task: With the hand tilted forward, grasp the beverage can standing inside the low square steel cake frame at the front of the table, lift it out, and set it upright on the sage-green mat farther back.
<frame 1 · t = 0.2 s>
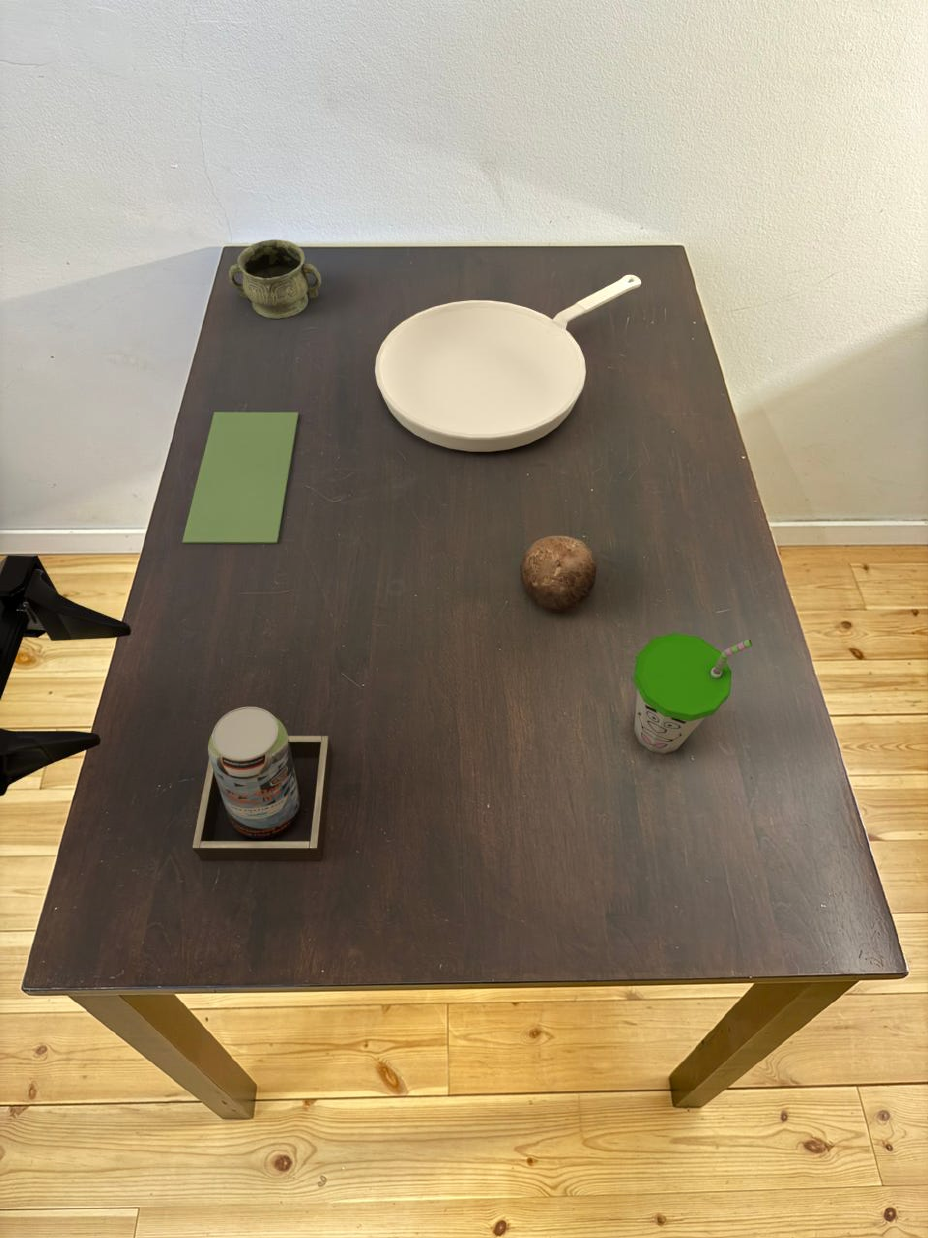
hand: (114, 682, 62), 16 cm above the table, tool horizontal, fingers open, 9 cm apart
cake frame: (269, 803, 73), on the table
green mat: (244, 474, 95), on the table
mushroom: (554, 591, 86), on the table
vessel: (279, 302, 114), on the table
beverage can: (270, 804, 73), resting in cake frame
cup: (658, 732, 77), on the table
pan: (522, 366, 106), on the table
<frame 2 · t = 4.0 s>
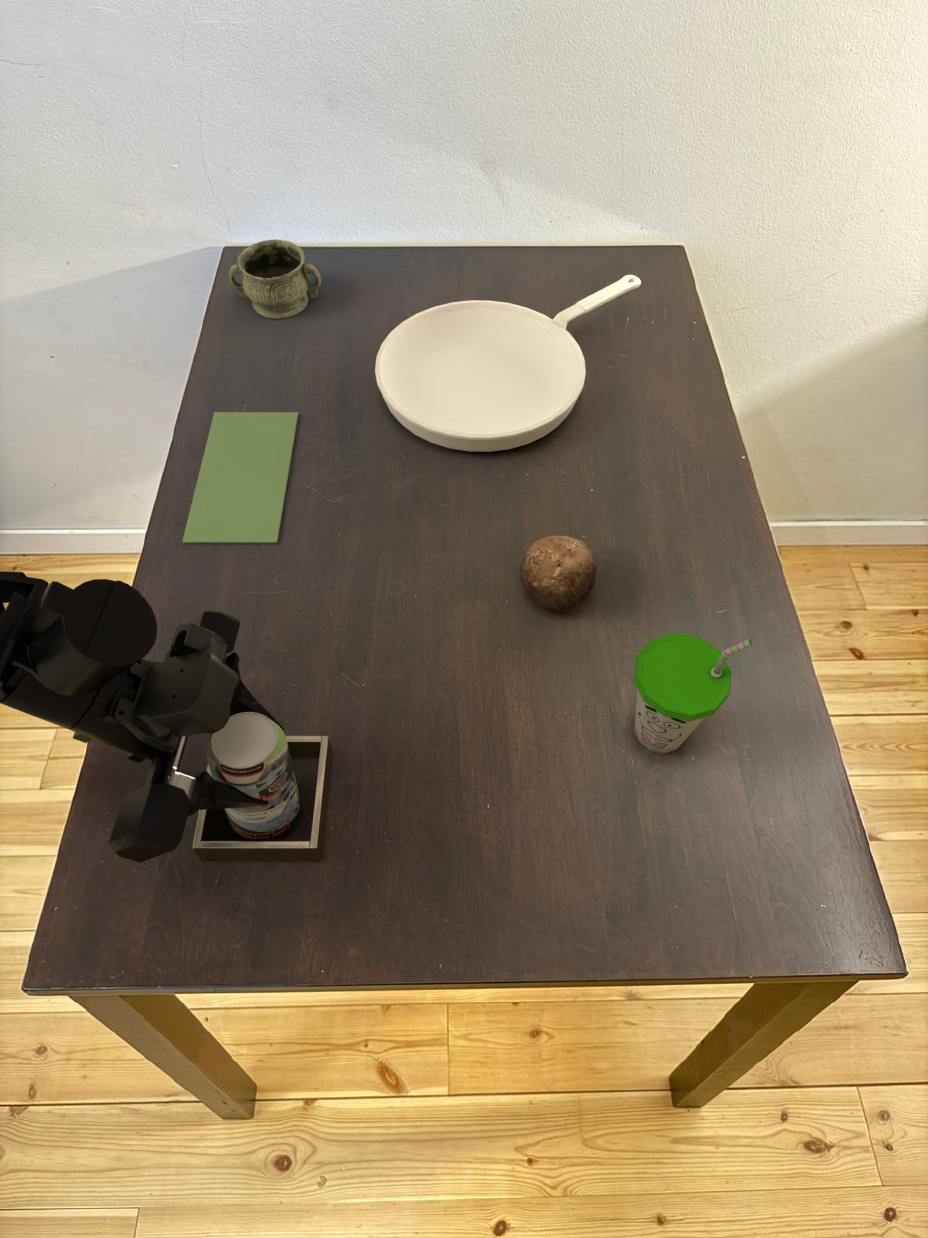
hand: (273, 767, 68), 7 cm above the table, tool tilted 45°, fingers closed on beverage can, 6 cm apart
beverage can: (270, 805, 73), resting in cake frame, touching gripper
everything else where it was.
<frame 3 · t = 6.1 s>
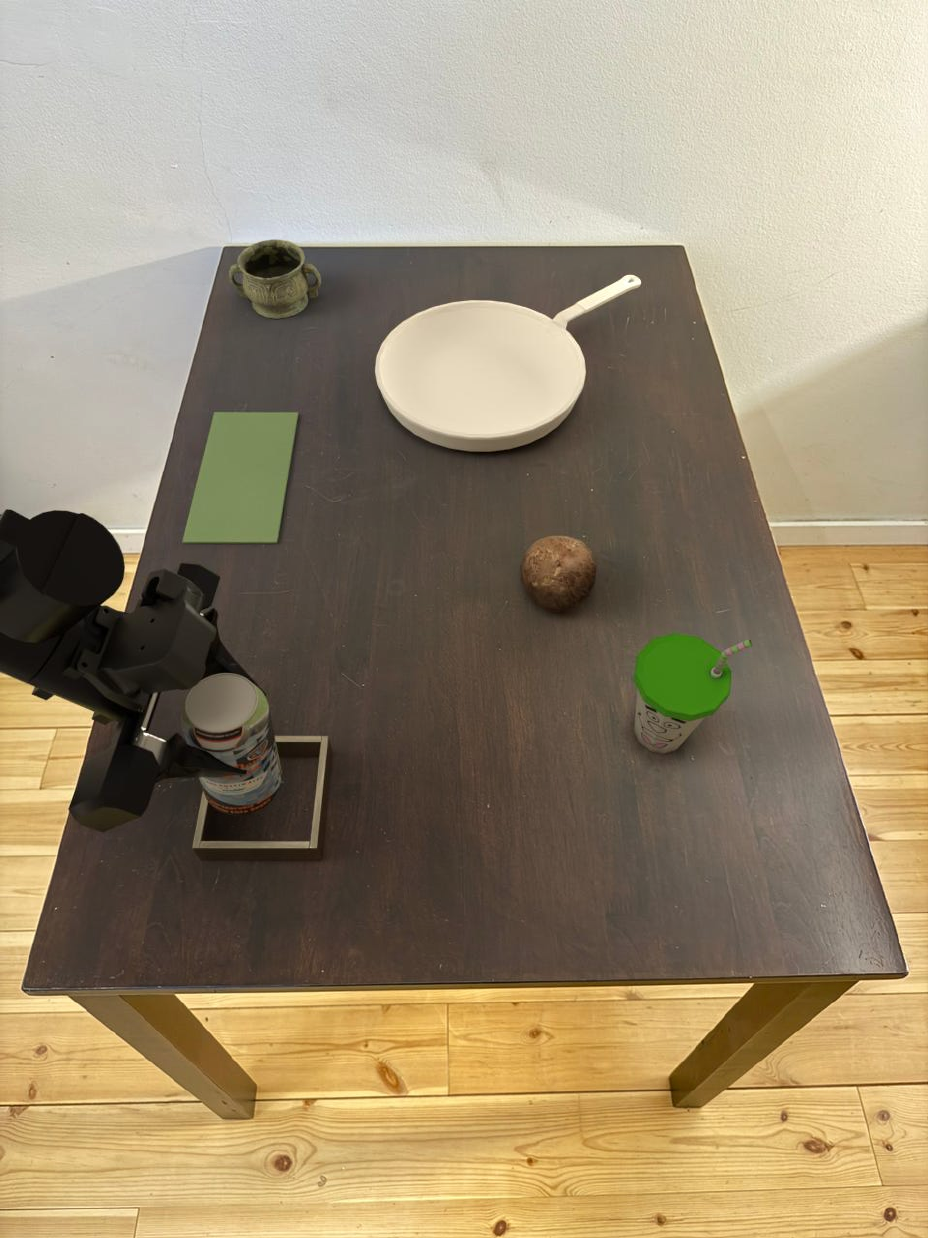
hand: (253, 735, 62), 13 cm above the table, tool tilted 45°, fingers closed on beverage can, 6 cm apart
beverage can: (249, 778, 68), point 6 cm above the table, touching gripper
everything else where it was.
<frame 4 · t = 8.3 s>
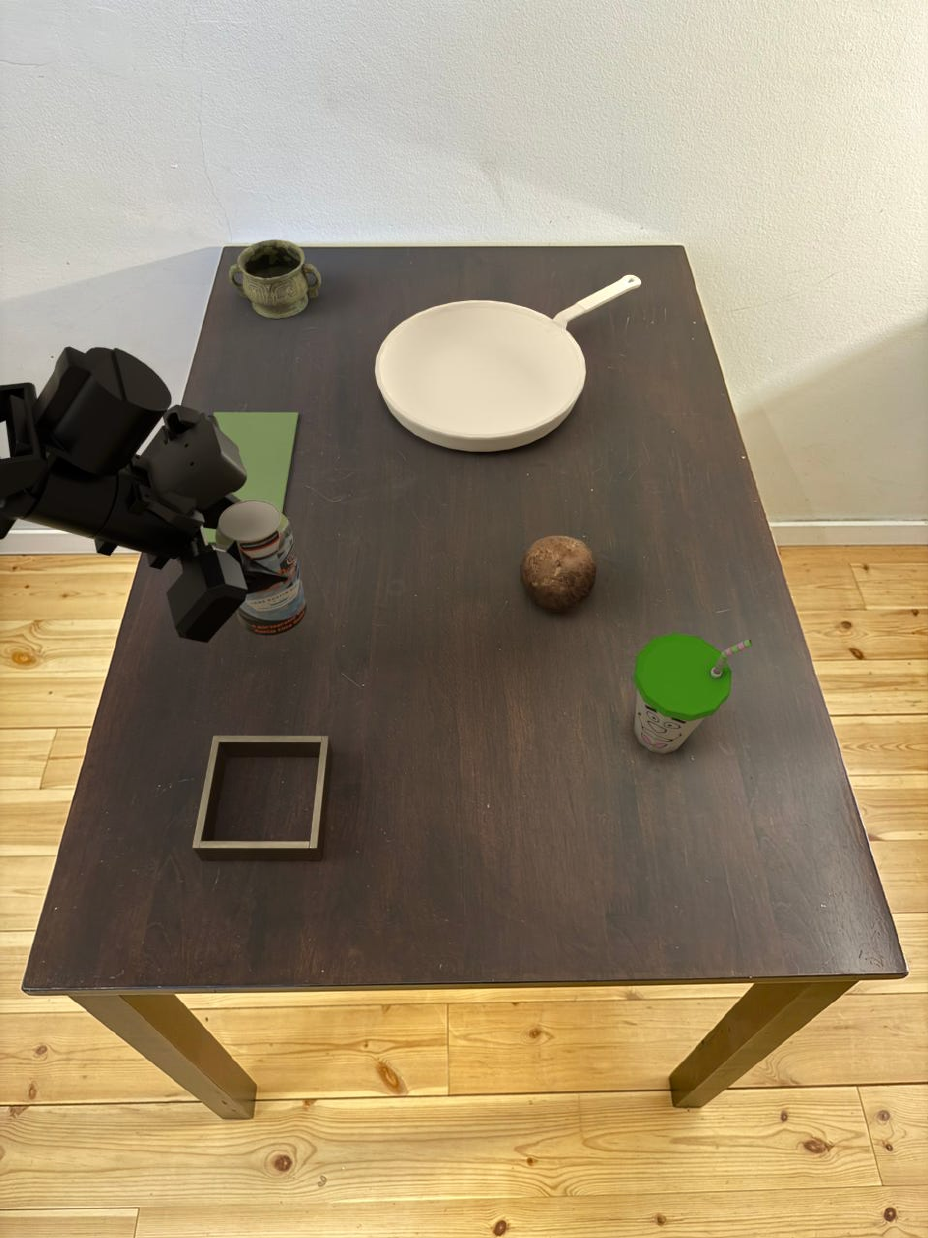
hand: (276, 554, 72), 13 cm above the table, tool tilted 45°, fingers closed on beverage can, 6 cm apart
beverage can: (274, 611, 77), point 6 cm above the table, touching gripper
everything else where it was.
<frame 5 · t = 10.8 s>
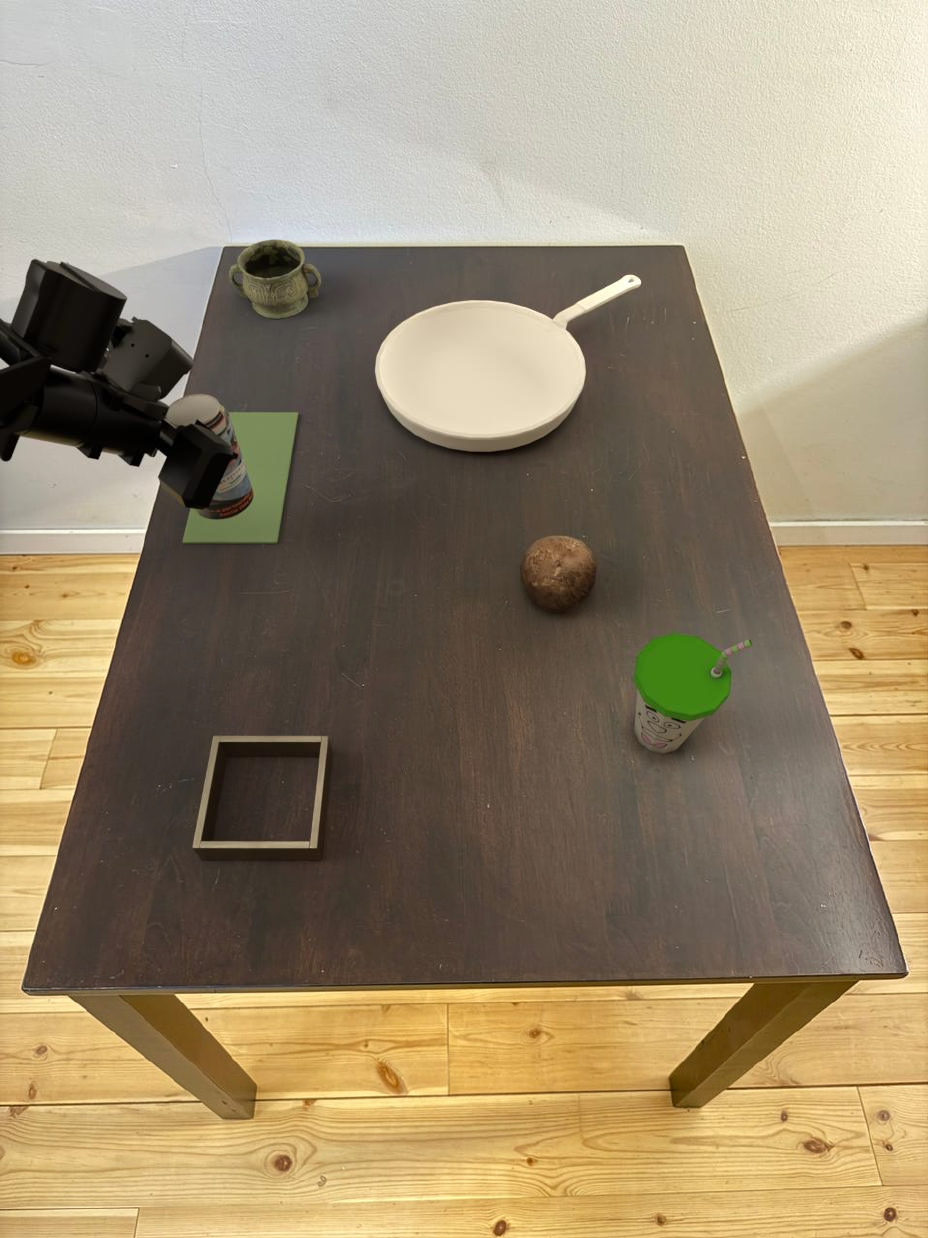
hand: (216, 443, 82), 12 cm above the table, tool tilted 45°, fingers closed on beverage can, 6 cm apart
beverage can: (222, 503, 86), point 5 cm above the table, touching gripper
everything else where it was.
when the fingers open (7 cm above the table, at t = 12.6 s): beverage can stays where it is, resting on green mat.
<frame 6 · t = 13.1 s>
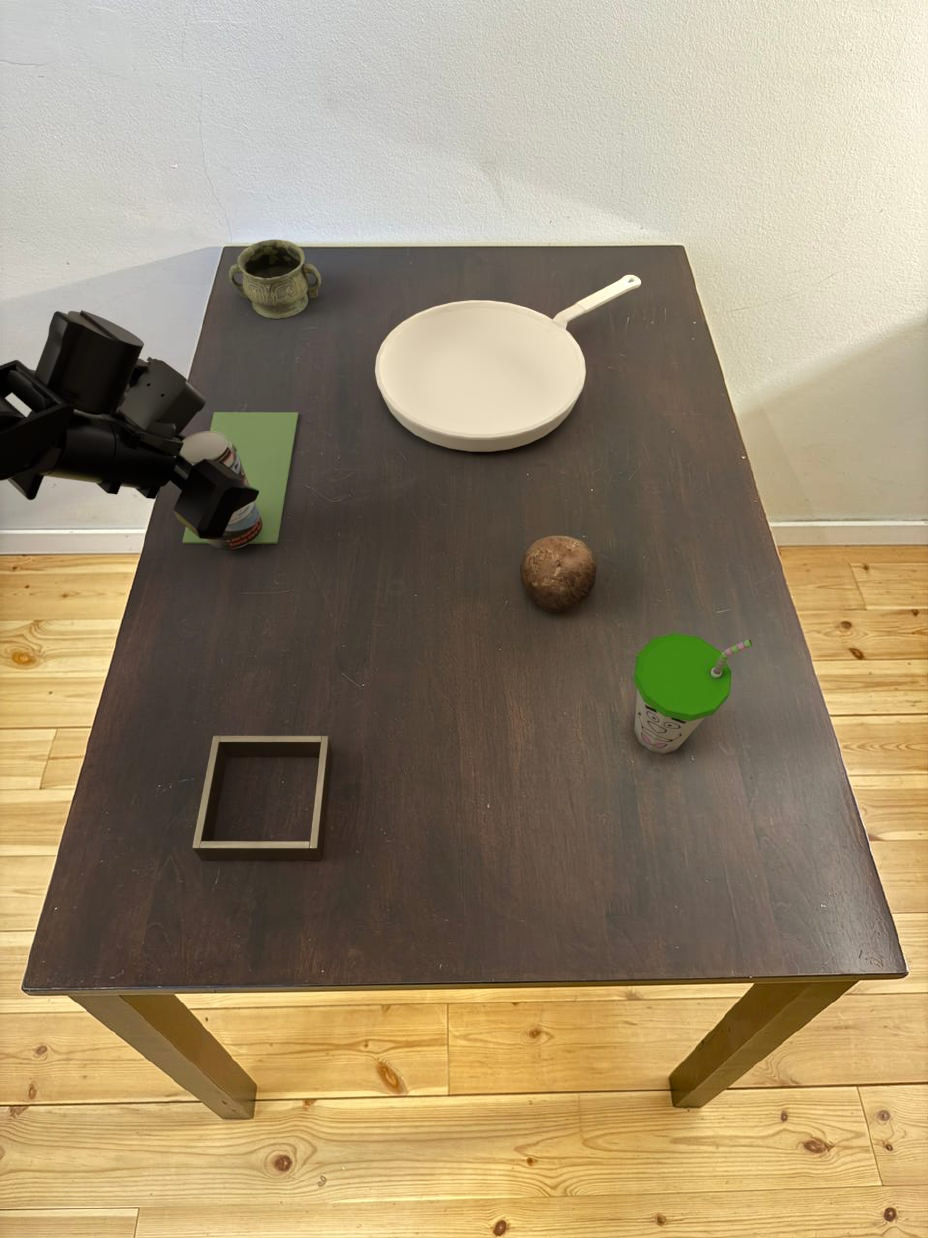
hand: (227, 471, 85), 8 cm above the table, tool tilted 45°, fingers open, 9 cm apart
beverage can: (233, 532, 90), resting on green mat
everything else where it was.
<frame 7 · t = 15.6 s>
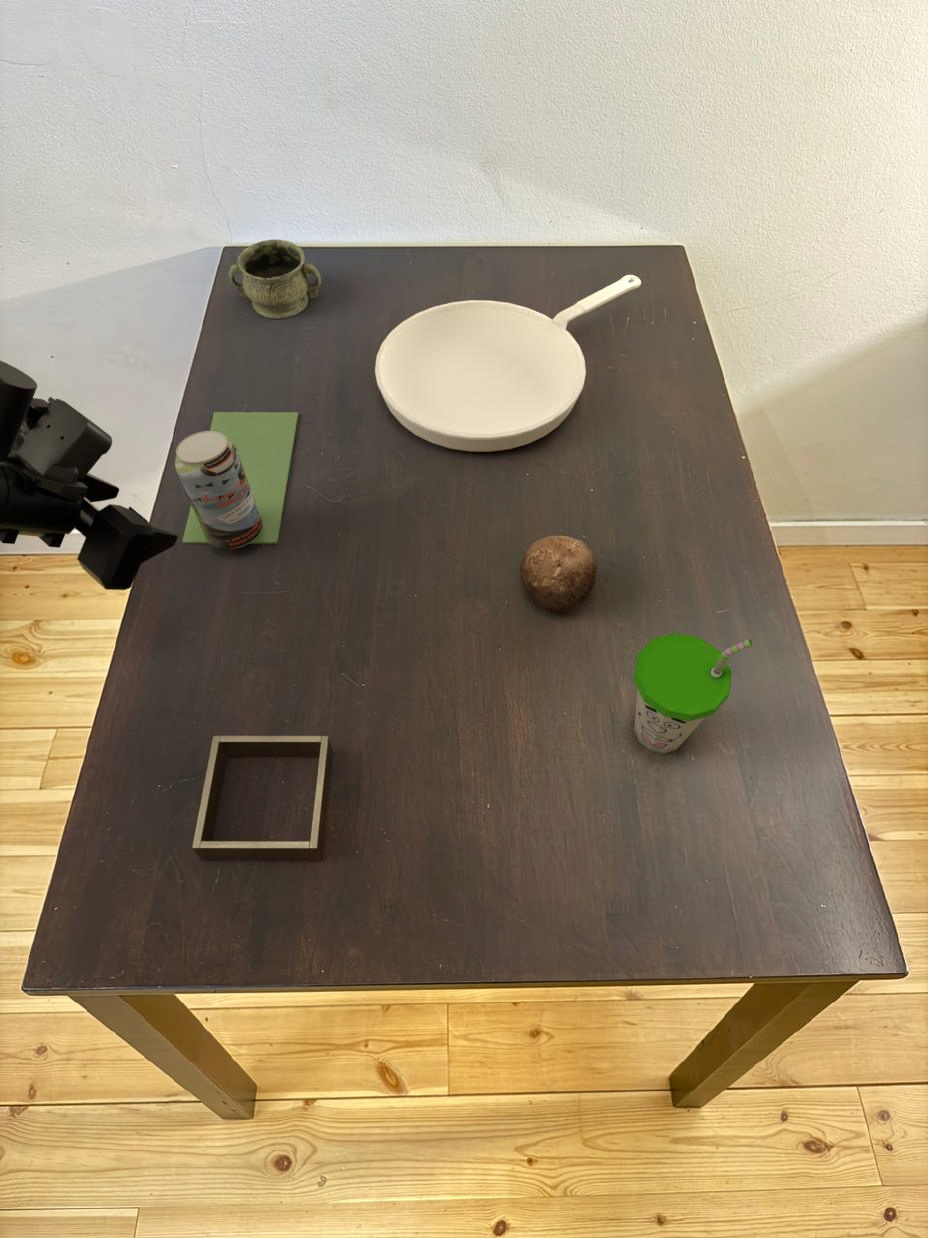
hand: (145, 515, 80), 9 cm above the table, tool tilted 45°, fingers open, 9 cm apart
nothing on the table moved.
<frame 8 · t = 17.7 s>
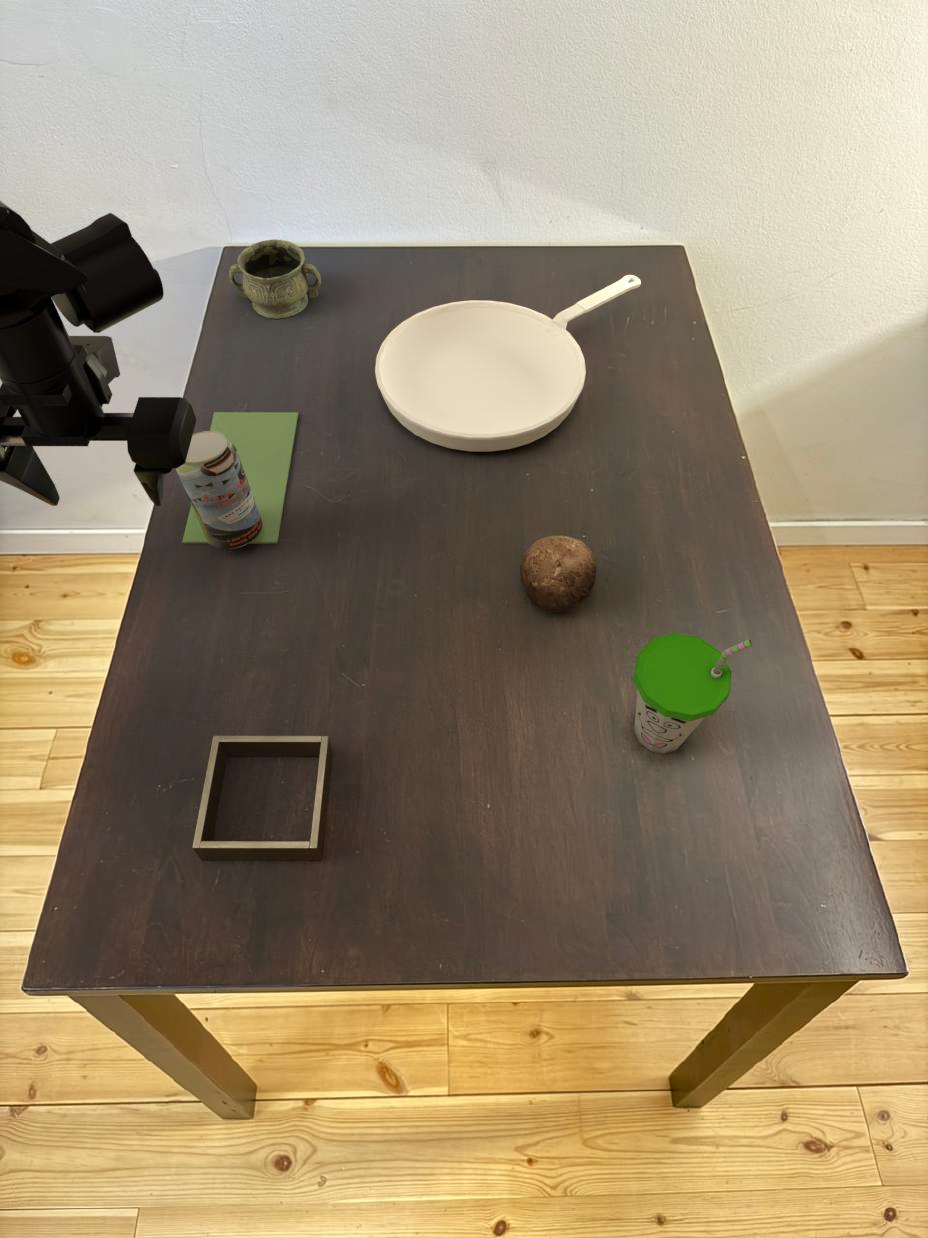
hand: (108, 502, 75), 13 cm above the table, tool pointing down, fingers open, 9 cm apart
nothing on the table moved.
at the end: beverage can inside the target area on the green mat (8.6 cm from its centre), point 0.1 cm above the green mat's base; beverage can tilted 0° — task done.
